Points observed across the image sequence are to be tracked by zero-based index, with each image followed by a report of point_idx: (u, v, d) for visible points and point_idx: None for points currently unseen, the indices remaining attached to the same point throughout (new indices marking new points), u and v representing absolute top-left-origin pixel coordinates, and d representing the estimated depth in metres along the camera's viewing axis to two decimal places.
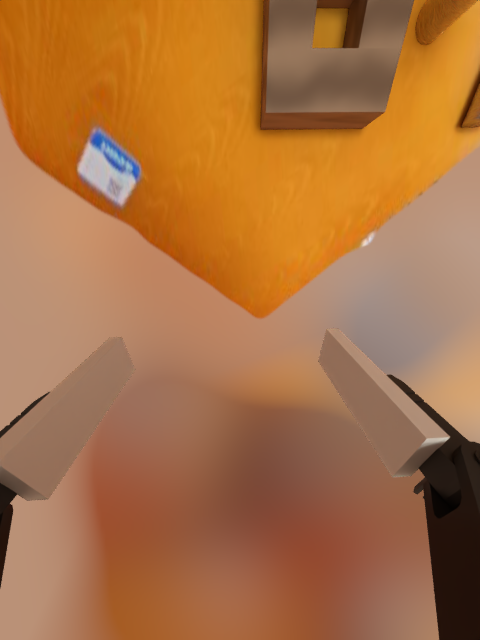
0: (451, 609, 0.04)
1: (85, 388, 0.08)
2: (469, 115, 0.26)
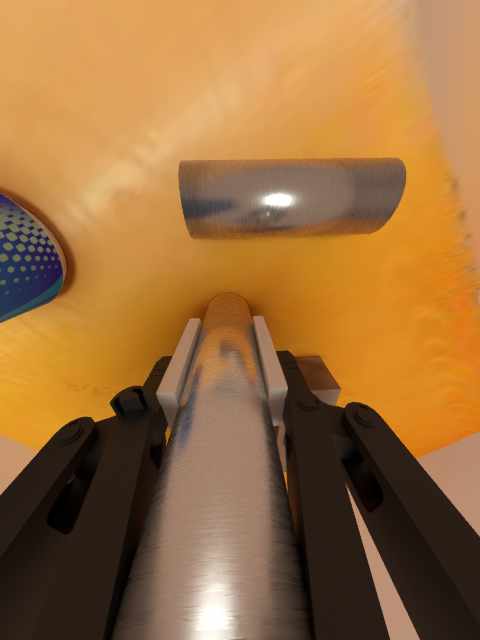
0: None
1: (192, 354, 0.10)
2: None
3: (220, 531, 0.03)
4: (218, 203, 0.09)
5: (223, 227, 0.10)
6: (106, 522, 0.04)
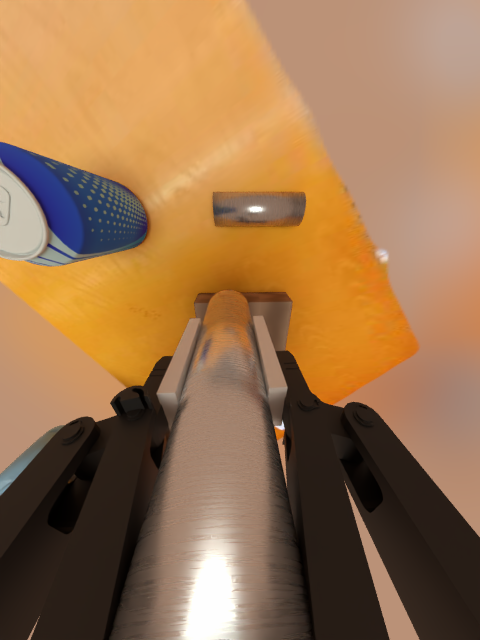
0: None
1: (192, 354, 0.10)
2: None
3: (221, 493, 0.04)
4: (228, 223, 0.24)
5: (230, 225, 0.25)
6: (107, 522, 0.04)
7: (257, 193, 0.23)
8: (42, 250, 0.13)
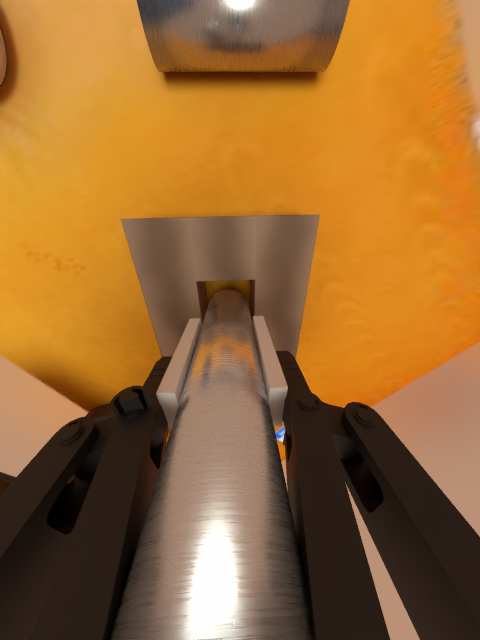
0: None
1: (192, 354, 0.10)
2: None
3: (222, 479, 0.04)
4: (186, 71, 0.13)
5: None
6: (106, 522, 0.04)
7: None
8: None
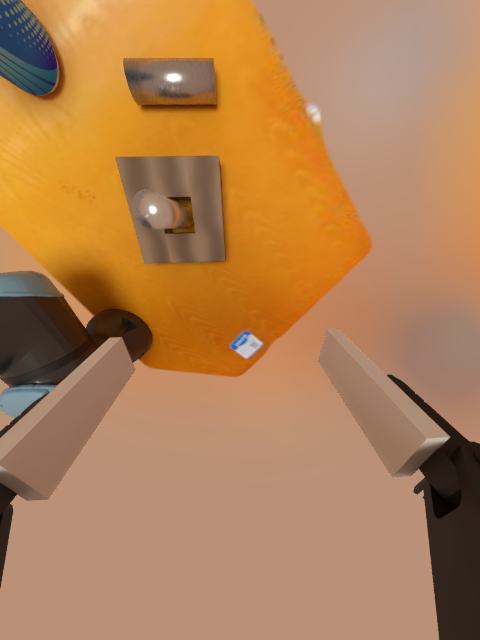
0: (451, 609, 0.04)
1: (85, 388, 0.08)
2: (207, 67, 0.24)
3: None
4: None
5: None
6: None
7: (173, 96, 0.25)
8: None
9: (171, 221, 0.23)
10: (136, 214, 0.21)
